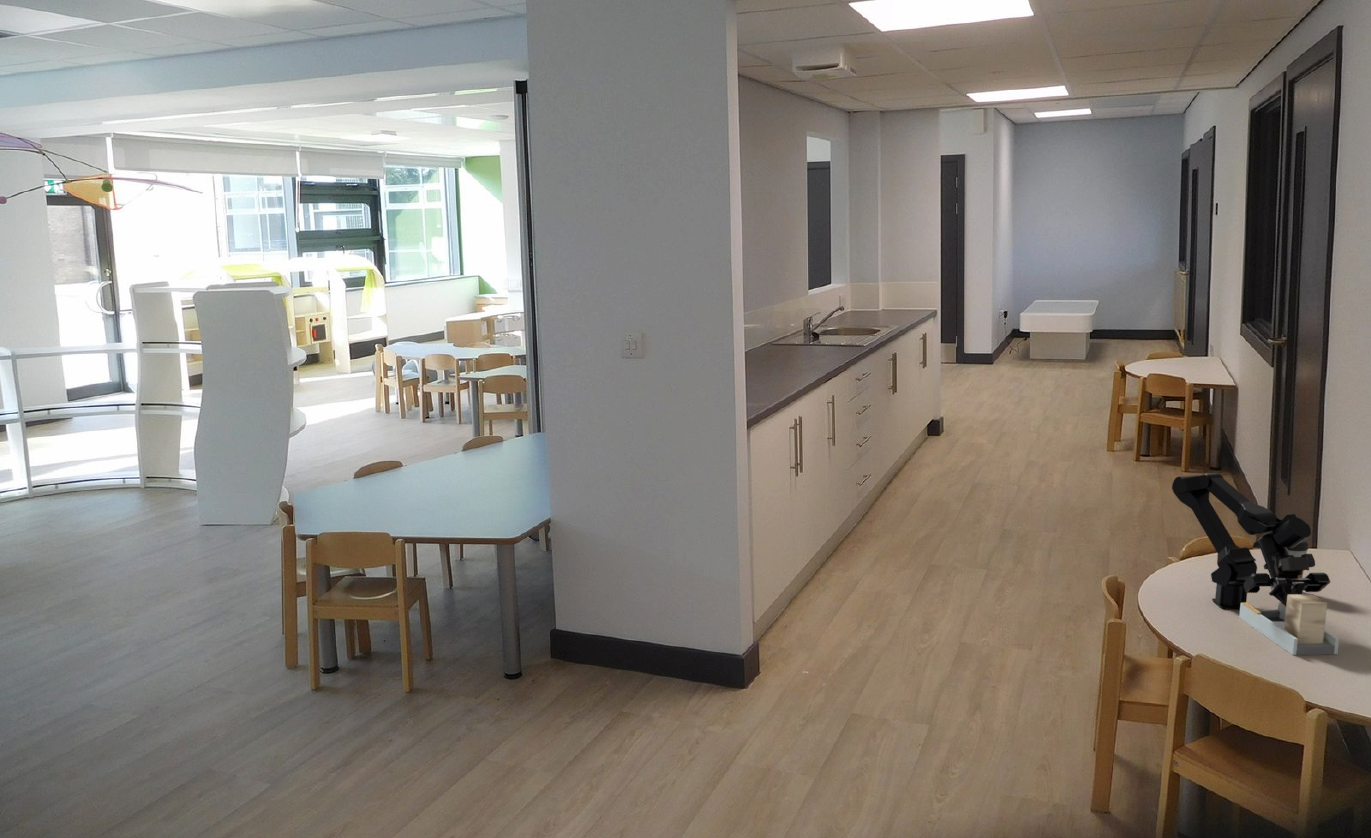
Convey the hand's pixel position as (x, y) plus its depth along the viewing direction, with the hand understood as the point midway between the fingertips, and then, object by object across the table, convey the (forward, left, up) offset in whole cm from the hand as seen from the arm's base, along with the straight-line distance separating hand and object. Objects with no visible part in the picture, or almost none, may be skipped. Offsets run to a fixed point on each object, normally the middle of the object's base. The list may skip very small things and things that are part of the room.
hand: (1298, 614), depth 262 cm
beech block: (0, -3, -5) cm, 6 cm away
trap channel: (0, +4, -7) cm, 8 cm away
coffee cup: (+15, +36, -7) cm, 40 cm away
